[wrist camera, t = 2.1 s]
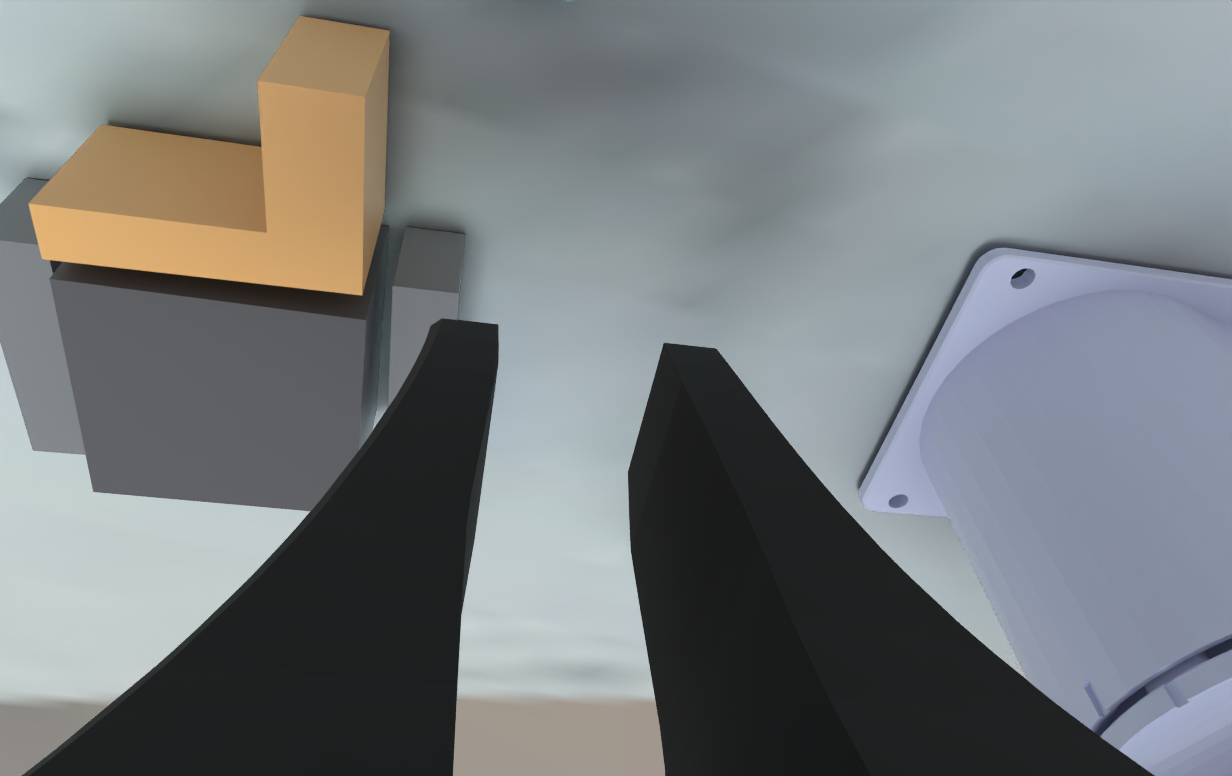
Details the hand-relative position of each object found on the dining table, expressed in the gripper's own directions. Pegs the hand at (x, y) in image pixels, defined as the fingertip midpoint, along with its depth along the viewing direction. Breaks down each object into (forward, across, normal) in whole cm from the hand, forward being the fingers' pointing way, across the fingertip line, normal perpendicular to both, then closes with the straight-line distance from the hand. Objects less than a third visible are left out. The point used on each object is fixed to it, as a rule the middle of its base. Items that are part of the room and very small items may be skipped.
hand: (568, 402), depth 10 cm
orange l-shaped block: (+8, +5, +1) cm, 10 cm away
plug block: (+9, +6, +5) cm, 12 cm away
